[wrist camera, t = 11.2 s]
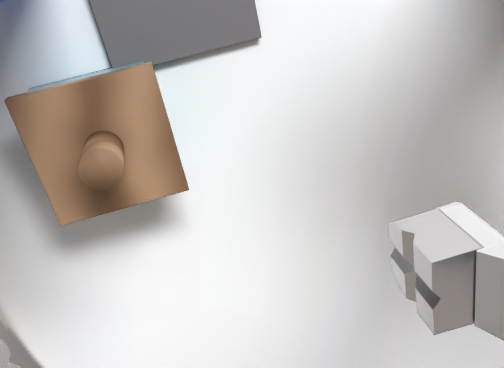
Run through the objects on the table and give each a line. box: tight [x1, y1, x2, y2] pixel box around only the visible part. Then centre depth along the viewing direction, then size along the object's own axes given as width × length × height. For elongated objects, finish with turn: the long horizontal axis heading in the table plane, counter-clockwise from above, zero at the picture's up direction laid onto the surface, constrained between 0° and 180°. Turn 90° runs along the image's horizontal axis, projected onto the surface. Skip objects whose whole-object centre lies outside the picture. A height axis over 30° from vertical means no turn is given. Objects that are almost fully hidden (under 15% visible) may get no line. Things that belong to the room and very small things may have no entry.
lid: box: [5, 62, 189, 226], centre depth 33 cm, size 10×10×5 cm
